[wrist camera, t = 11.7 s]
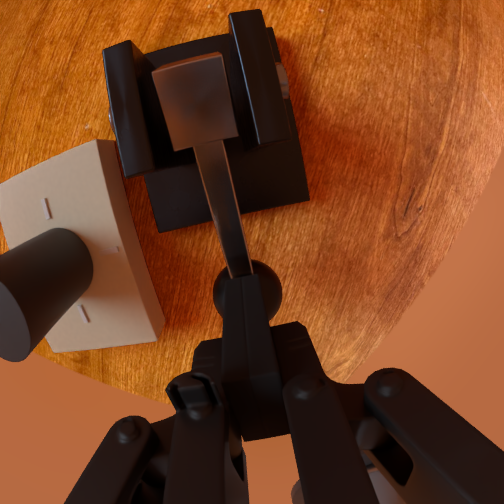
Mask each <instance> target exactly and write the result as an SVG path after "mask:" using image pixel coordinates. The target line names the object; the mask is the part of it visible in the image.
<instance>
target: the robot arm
mask: <svg viewBox="0 0 504 504" xmlns="http://www.w3.org/2000/svg"><path fill="white" fill-rule="evenodd" d="M165 391H166V393H167V395H168V397H169V398H170V400H171V402H172V404H173V406H174V408H175V410H176V414H175V415H173V416H171V417H169V418H167V419H164V420H161V421H158V422H154V423H151V424H150V423H149V422H148V421H147V420H146V419H145V418H143V417H141V416H128V417H125V418H122V419H120V420H119V421H117V422H116V423H115V424H114V425H113V426H112V427H111V428H110V430H109V431H108V433H107V435H106V436H105V438H104V439H103V441H102V442H101V444H100V446H99V447H98V449H97V450H96V452H95V454H94V455H93V457H92V458H91V460H90V462H89V463H88V465H87V466H86V468H85V470H84V471H83V473H82V475H81V476H80V478H79V480H78V481H77V483H76V484H75V486H74V488H73V489H72V491H71V493H70V494H69V496H68V498H67V499H66V501H65V503H64V504H249V493H248V480H247V467H246V455H245V452H244V450H243V447H242V439H241V435H242V437H243V440H244V442H247V441H253V440H259V439H265V438H271V437H276V436H281V435H286V434H291V438H292V443H293V449H294V454H295V459H296V463H297V468H298V473H299V478H300V483H301V488H302V493H303V498H304V503H305V504H504V451H502V450H501V449H500V448H499V447H498V446H496V445H495V444H494V443H493V442H492V441H490V440H489V439H488V438H487V437H485V436H484V435H483V434H482V433H481V432H480V431H478V430H477V429H476V428H475V427H473V426H472V425H471V424H470V423H469V422H467V421H466V420H465V419H464V418H463V417H461V416H460V415H459V414H458V413H457V412H455V411H454V410H453V409H452V408H450V407H449V406H448V405H447V404H445V403H444V402H443V401H442V400H440V399H439V398H438V397H437V396H436V395H435V394H433V393H432V392H431V391H430V390H429V389H427V388H426V387H425V386H424V385H422V384H421V383H420V382H419V381H418V380H416V379H415V378H414V377H413V376H411V375H410V374H409V373H407V372H405V371H404V370H402V369H397V368H383V369H380V370H378V371H375V372H374V373H372V374H371V375H370V376H368V378H367V380H366V381H365V383H364V384H342V383H337V382H335V381H333V380H331V379H330V378H329V377H327V376H326V374H325V373H324V371H323V368H322V366H321V363H320V361H319V358H318V356H317V353H316V351H315V349H314V346H313V344H312V341H311V339H310V336H309V334H308V331H307V329H306V327H305V326H303V325H302V324H301V323H299V322H298V321H295V322H290V323H286V324H281V325H277V326H272V327H270V325H269V321H268V316H267V311H266V307H265V302H264V298H263V293H262V288H261V284H260V279H259V275H258V274H254V275H249V276H245V277H240V278H235V279H230V280H226V281H225V287H224V309H223V333H222V338H217V339H211V340H205V341H201V342H200V344H199V345H198V346H197V348H196V349H195V350H194V356H193V362H192V370H191V371H190V372H186V373H183V374H181V375H179V376H177V377H175V378H174V379H173V380H172V381H171V382H170V383H169V384H168V386H167V388H166V390H165ZM360 450H363V452H364V453H365V454H366V455H367V457H368V458H369V459H370V460H371V461H372V463H373V464H369V465H366V466H365V463H364V460H363V458H362V455H361V453H360Z"/></svg>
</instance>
